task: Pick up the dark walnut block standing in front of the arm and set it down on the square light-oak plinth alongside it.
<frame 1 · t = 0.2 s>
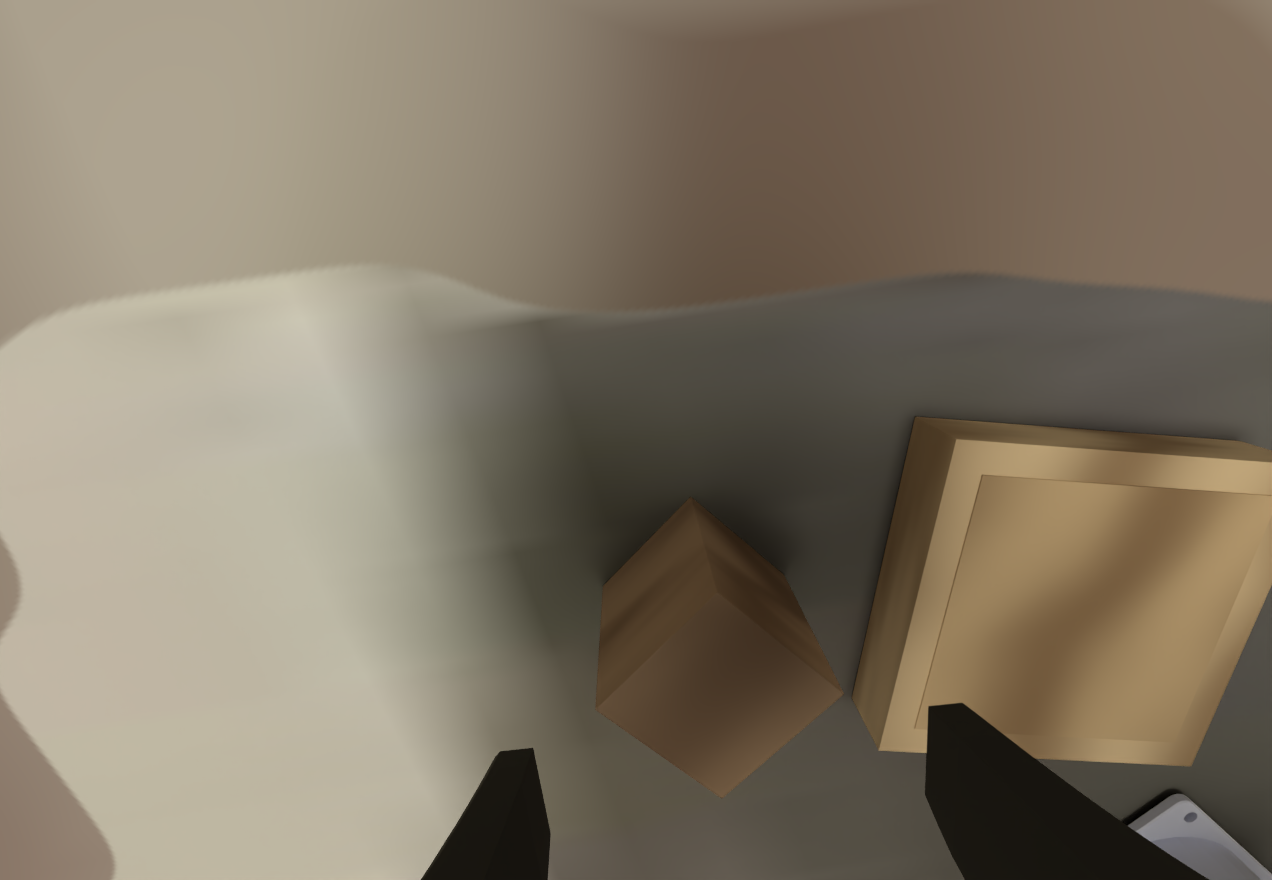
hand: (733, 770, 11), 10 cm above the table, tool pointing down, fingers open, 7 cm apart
oak plinth: (1033, 577, 21), on the table
walnut block: (693, 580, 21), on the table
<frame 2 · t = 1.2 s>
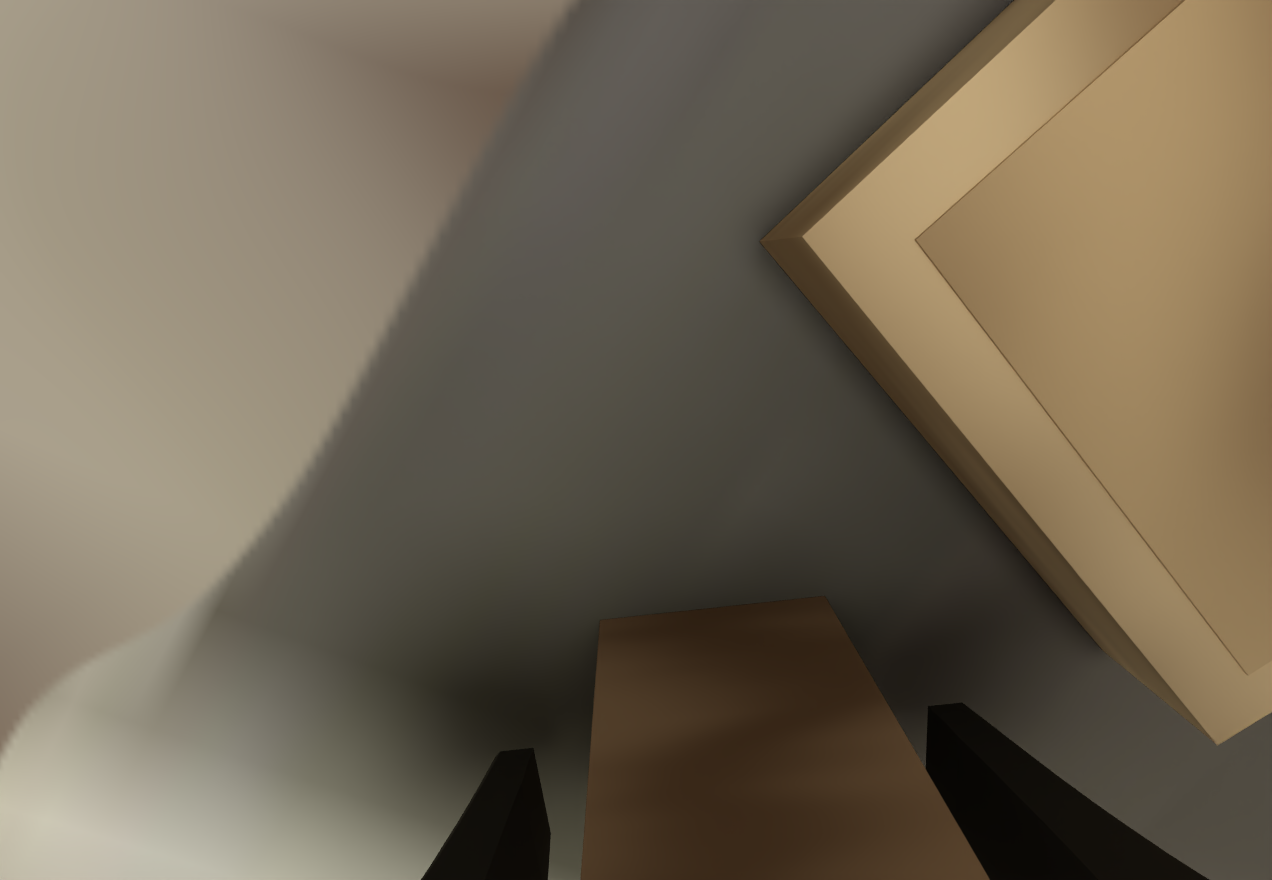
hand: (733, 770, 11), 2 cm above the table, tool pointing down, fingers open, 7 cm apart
oak plinth: (1220, 254, 10), on the table
walnut block: (719, 699, 13), on the table
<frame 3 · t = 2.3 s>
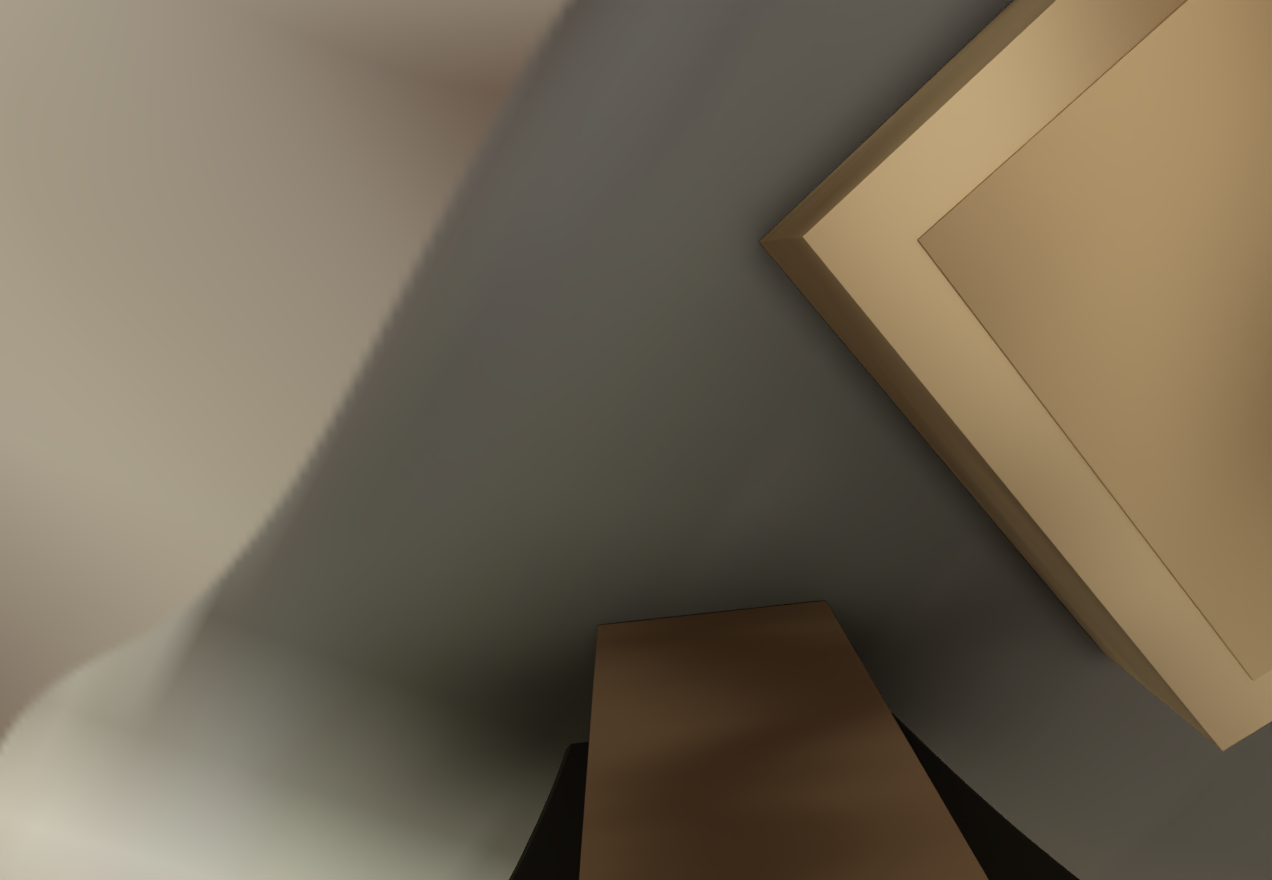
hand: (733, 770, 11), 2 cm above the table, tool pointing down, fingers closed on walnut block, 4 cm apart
oak plinth: (1225, 255, 10), on the table
walnut block: (719, 706, 12), on the table, touching gripper
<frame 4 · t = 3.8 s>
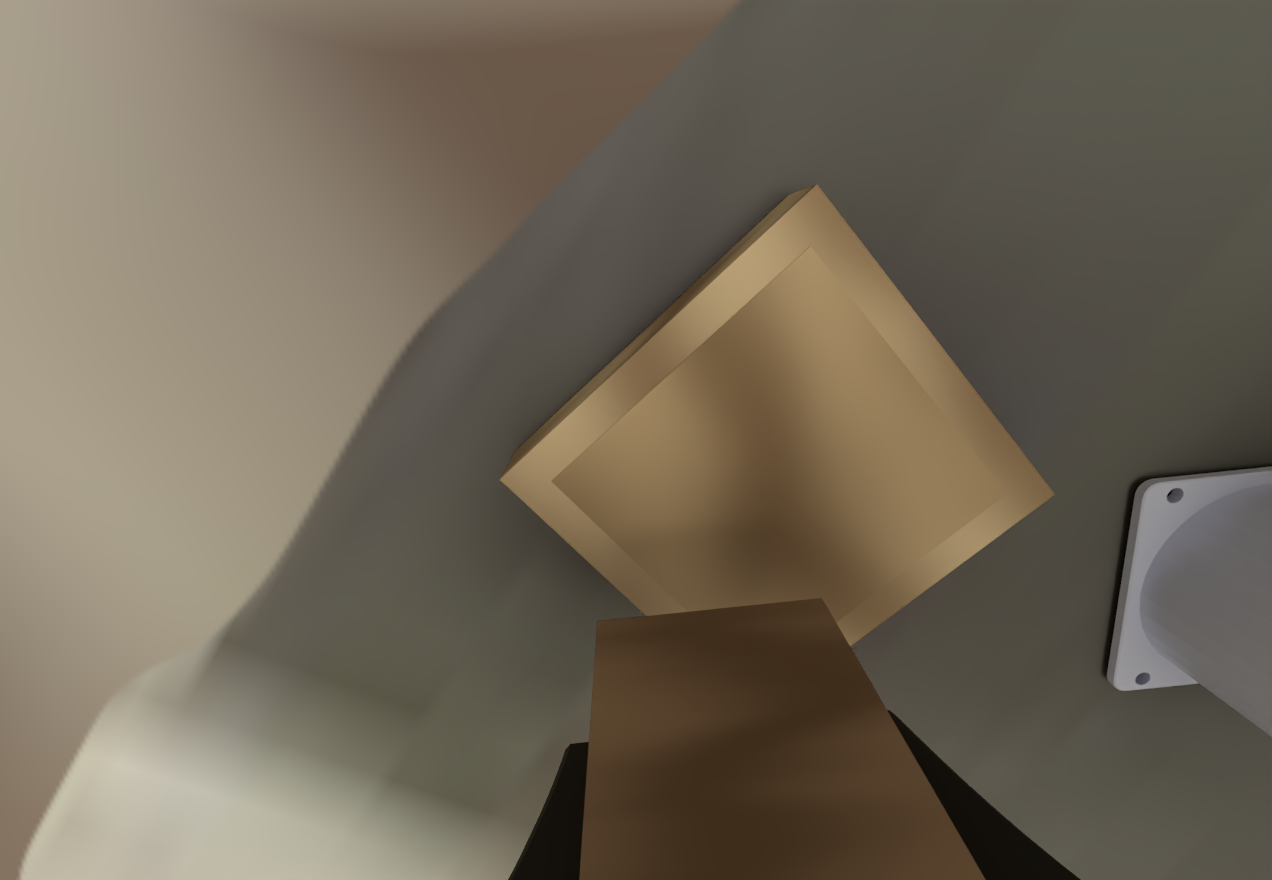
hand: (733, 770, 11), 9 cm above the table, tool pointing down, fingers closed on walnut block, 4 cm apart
oak plinth: (761, 458, 19), on the table
walnut block: (716, 701, 13), point 7 cm above the table, touching gripper
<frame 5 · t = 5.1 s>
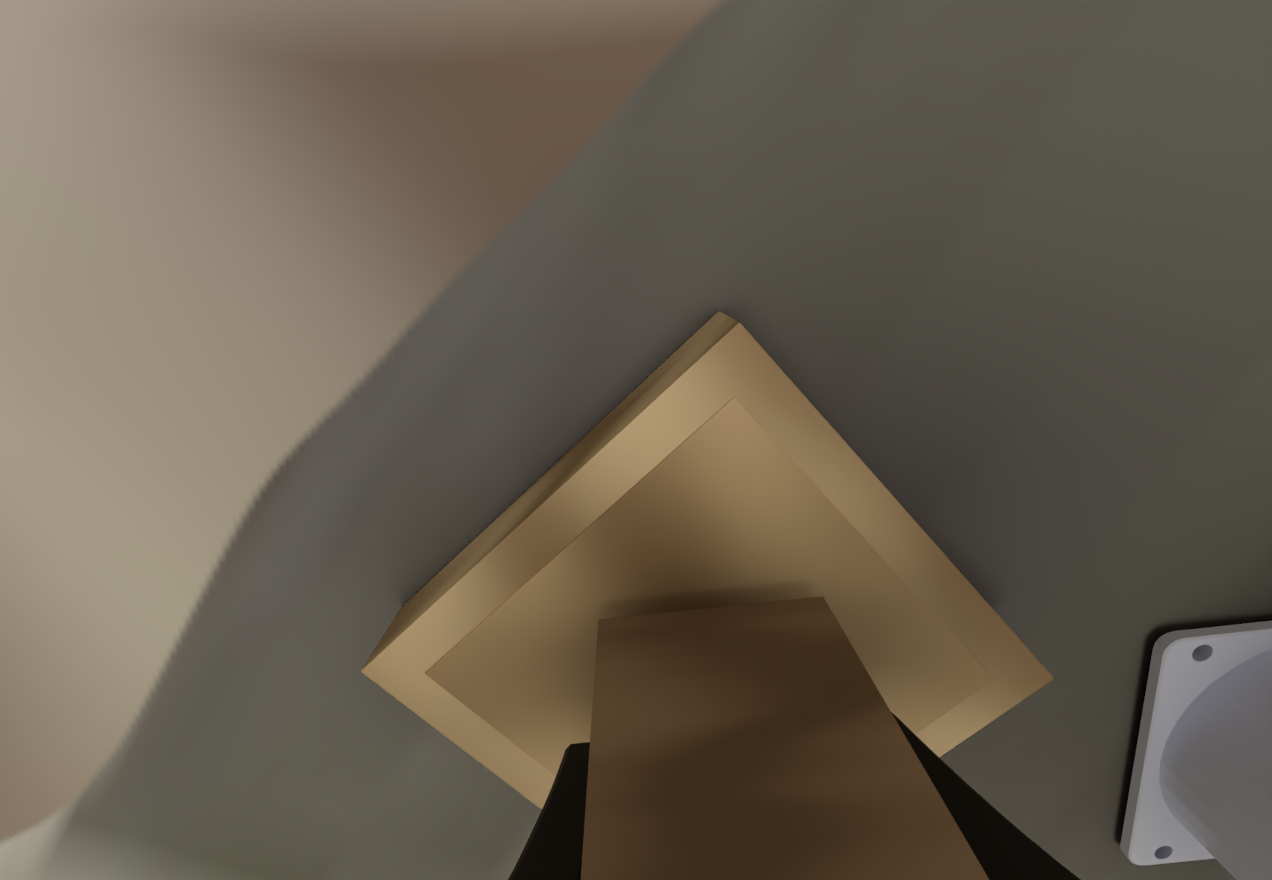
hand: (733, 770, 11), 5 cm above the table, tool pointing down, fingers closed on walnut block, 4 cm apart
oak plinth: (699, 611, 16), on the table
walnut block: (717, 700, 13), point 3 cm above the table, touching gripper
when the fingers open (5 cm above the table, at t = 5.7 s): walnut block stays where it is, resting on oak plinth.
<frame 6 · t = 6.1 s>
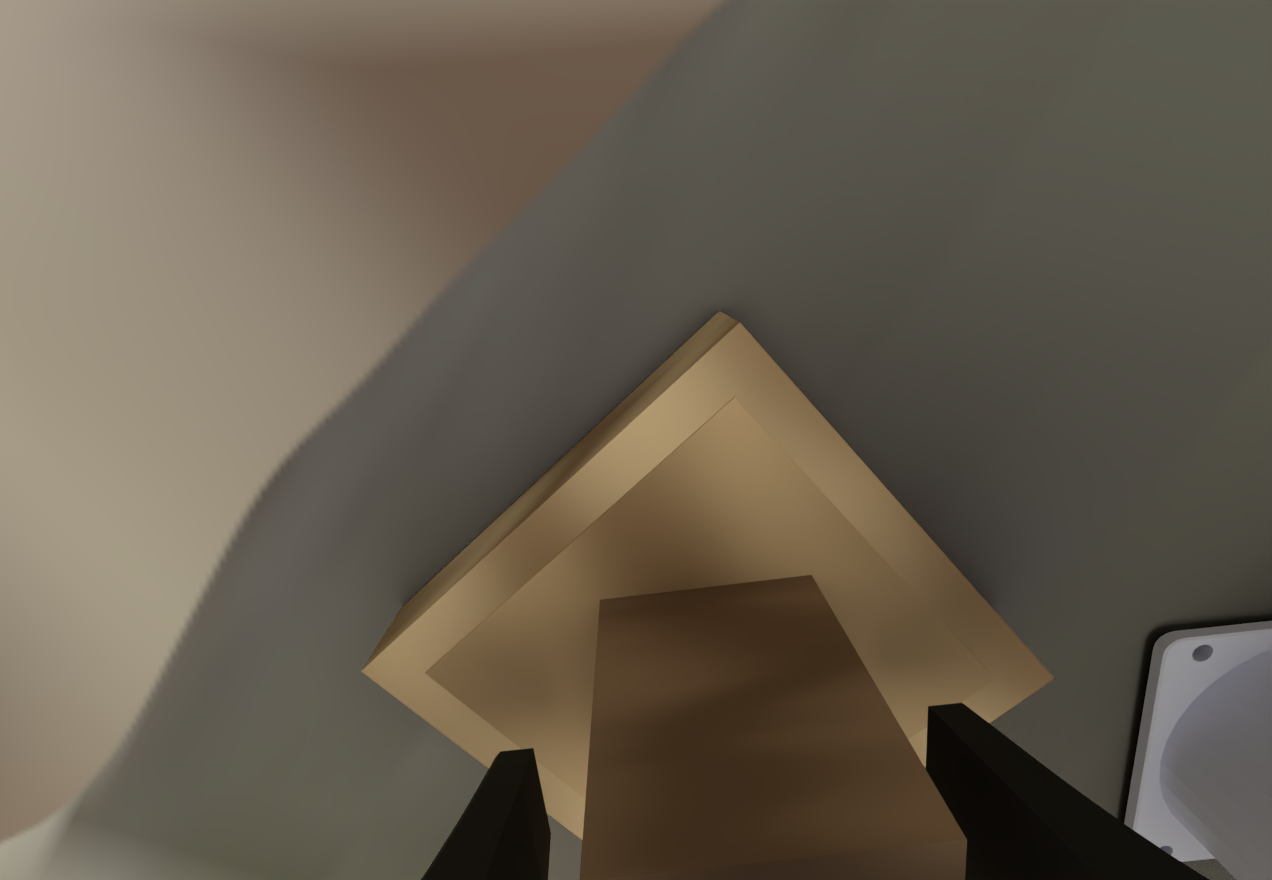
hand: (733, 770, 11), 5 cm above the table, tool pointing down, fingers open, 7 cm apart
oak plinth: (699, 611, 16), on the table
walnut block: (714, 675, 13), point 3 cm above the table, touching oak plinth
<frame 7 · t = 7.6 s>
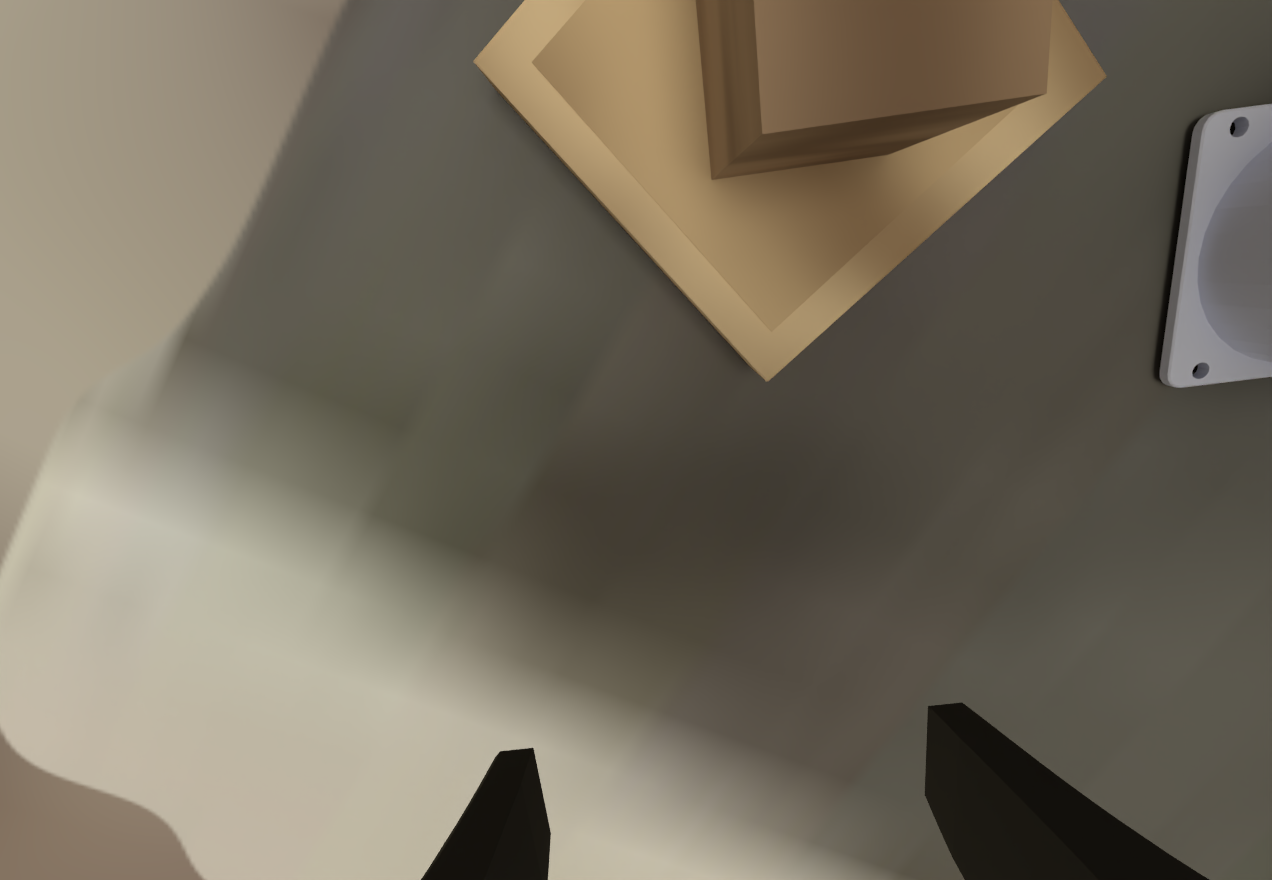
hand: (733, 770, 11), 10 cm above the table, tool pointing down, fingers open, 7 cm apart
oak plinth: (769, 95, 17), on the table
walnut block: (794, 67, 15), point 3 cm above the table, touching oak plinth
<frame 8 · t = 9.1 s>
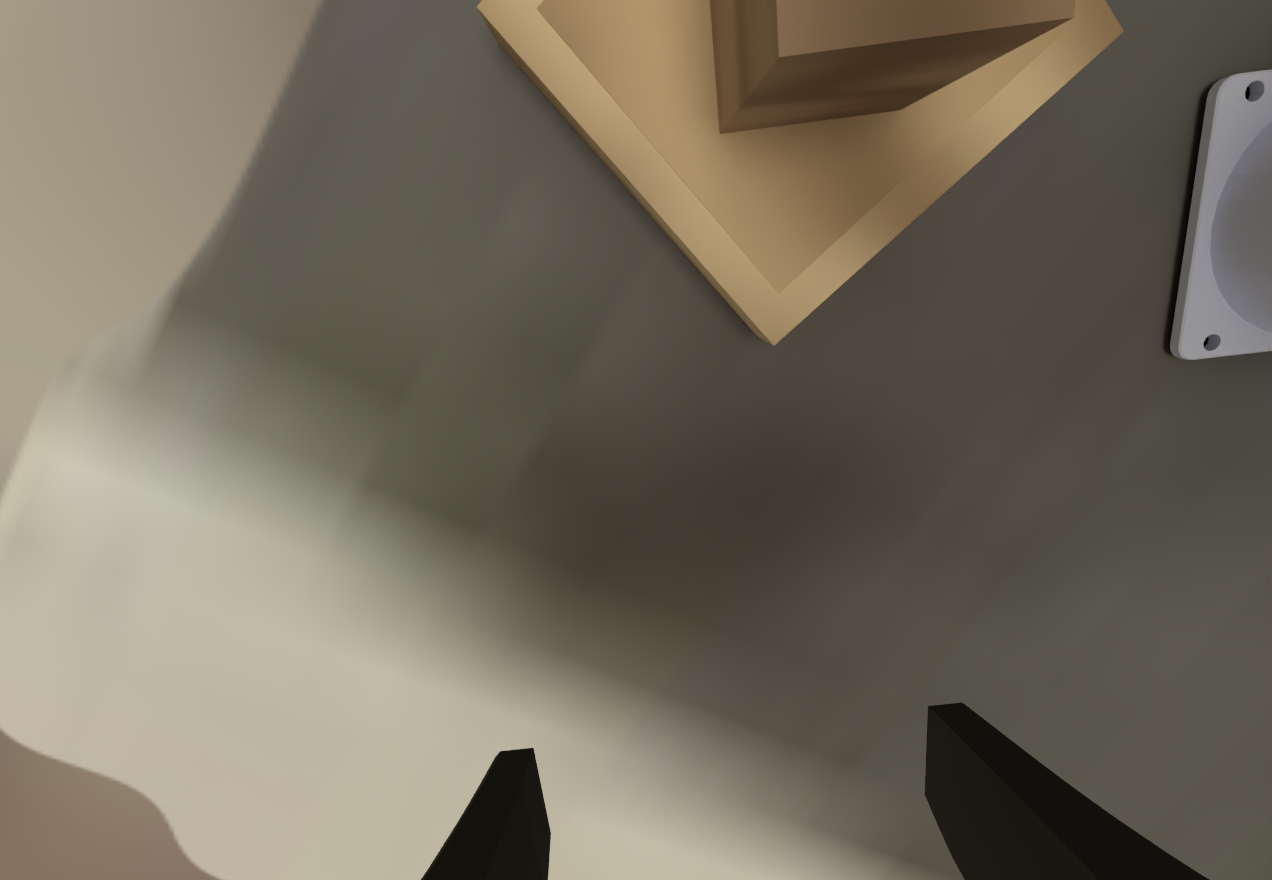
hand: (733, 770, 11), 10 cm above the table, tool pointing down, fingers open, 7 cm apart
oak plinth: (778, 53, 17), on the table
walnut block: (806, 17, 14), point 3 cm above the table, touching oak plinth
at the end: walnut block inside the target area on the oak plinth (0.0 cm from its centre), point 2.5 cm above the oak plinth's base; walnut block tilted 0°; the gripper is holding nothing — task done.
